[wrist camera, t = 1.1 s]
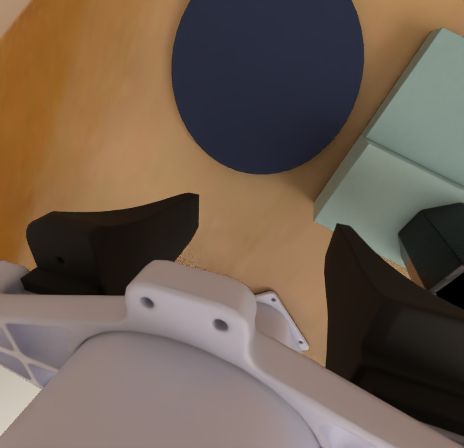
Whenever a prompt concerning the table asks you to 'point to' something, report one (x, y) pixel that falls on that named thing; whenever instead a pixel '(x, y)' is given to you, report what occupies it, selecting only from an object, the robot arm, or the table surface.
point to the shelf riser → (404, 151)
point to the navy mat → (266, 78)
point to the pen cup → (436, 251)
